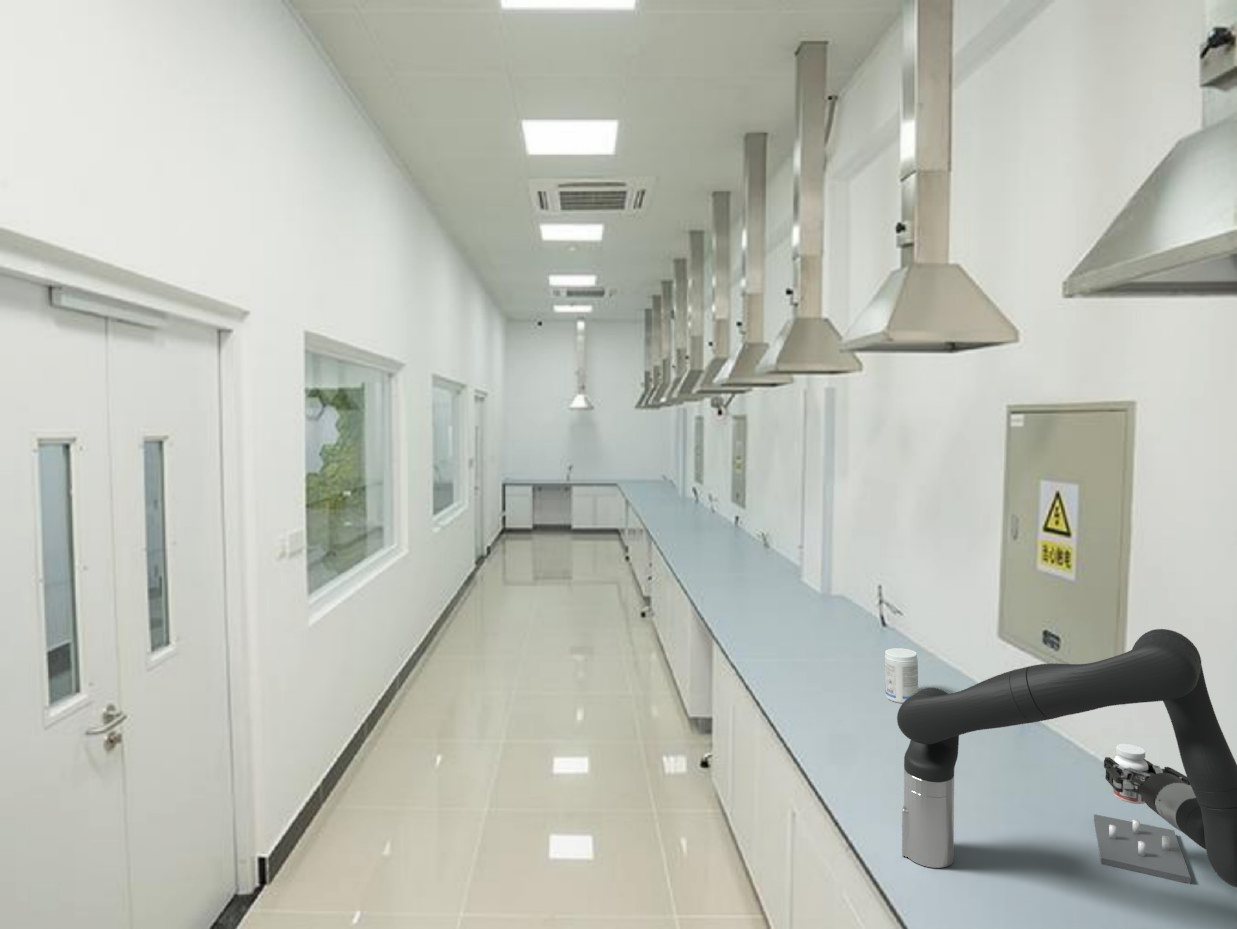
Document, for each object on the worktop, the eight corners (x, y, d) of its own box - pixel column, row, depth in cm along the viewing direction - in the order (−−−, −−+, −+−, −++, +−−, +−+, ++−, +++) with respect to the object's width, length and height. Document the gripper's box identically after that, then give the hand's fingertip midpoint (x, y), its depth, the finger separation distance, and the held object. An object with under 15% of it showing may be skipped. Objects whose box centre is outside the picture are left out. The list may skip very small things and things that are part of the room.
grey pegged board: (1101, 863, 145) (1101, 845, 145) (1093, 819, 161) (1094, 802, 160) (1190, 883, 138) (1191, 864, 138) (1173, 835, 154) (1174, 818, 154)
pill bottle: (1134, 790, 150) (1135, 742, 149) (1155, 804, 144) (1156, 754, 143) (1106, 791, 150) (1107, 742, 149) (1126, 805, 144) (1126, 755, 143)
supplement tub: (918, 695, 234) (918, 649, 233) (917, 706, 225) (917, 658, 224) (885, 691, 238) (885, 646, 237) (883, 701, 229) (883, 655, 228)
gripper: (1222, 784, 131) (1161, 744, 148) (1136, 782, 133) (1085, 743, 149) (1221, 825, 132) (1160, 780, 149) (1136, 823, 133) (1085, 779, 150)
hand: (1123, 762), depth 149 cm, fingers closed on pill bottle, 5 cm apart
